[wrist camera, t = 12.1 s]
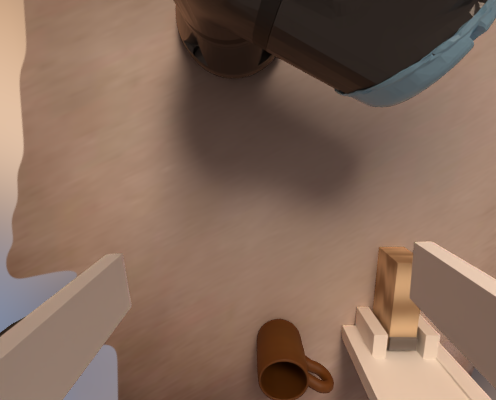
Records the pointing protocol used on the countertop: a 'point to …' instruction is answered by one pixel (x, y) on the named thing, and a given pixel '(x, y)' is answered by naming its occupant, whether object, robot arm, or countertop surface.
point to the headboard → (406, 364)
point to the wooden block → (396, 298)
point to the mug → (287, 363)
